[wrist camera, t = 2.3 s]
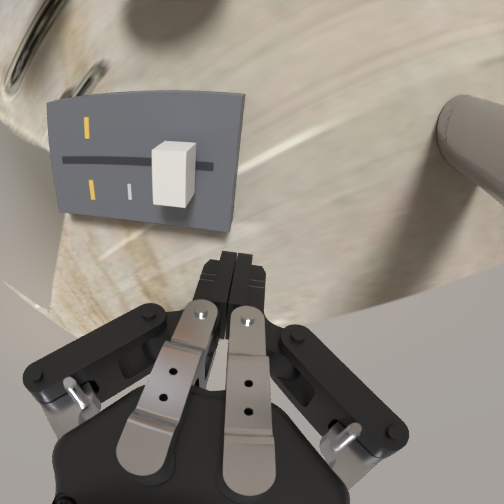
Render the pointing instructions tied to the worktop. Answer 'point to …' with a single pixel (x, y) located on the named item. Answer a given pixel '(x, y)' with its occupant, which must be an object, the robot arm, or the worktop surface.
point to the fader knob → (173, 173)
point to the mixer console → (145, 153)
